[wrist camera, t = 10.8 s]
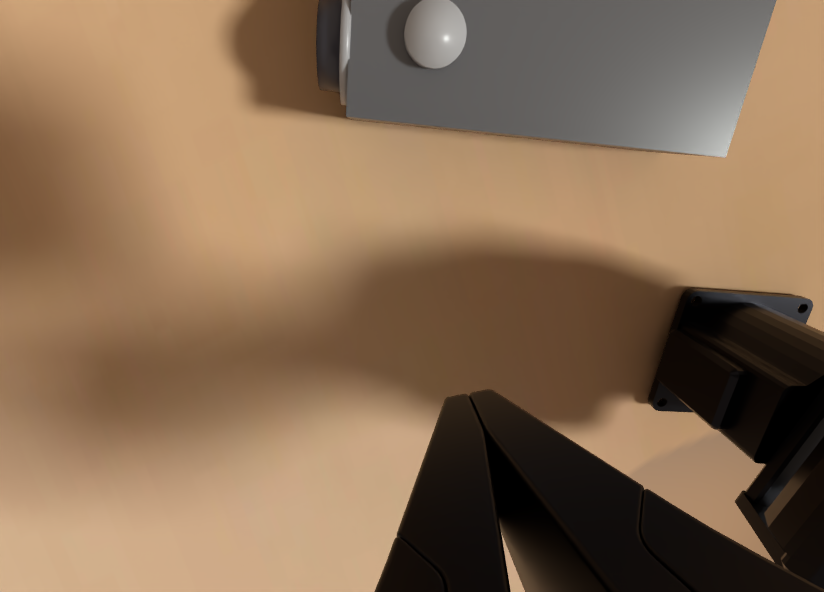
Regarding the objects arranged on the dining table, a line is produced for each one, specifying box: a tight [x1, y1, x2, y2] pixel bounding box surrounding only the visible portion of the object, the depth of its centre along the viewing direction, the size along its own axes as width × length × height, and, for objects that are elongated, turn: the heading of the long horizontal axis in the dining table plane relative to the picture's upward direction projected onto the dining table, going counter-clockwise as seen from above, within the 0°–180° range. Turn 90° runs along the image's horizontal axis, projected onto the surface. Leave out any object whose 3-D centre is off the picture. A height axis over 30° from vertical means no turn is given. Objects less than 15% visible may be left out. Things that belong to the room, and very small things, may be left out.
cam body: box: [316, 0, 776, 158], centre depth 15 cm, size 14×8×4 cm, turn 84°
